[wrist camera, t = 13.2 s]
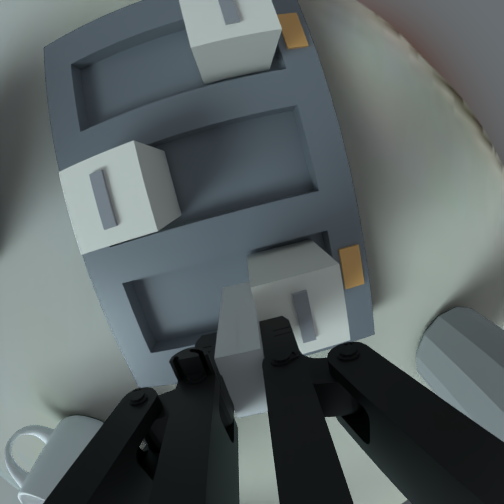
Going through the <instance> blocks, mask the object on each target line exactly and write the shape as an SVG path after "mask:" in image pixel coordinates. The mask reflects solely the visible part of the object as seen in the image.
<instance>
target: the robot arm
mask: <svg viewBox="0 0 504 504" xmlns="http://www.w3.org/2000/svg"><path fill="white" fill-rule="evenodd" d="M169 363H170V365H171V367H172V369H173V372H174V374H175V376H176V378H177V380H178V383H177V386H176V389H174V390H172V391H170V392H167V393H164V394H161V395H158V394H157V392H156V391H155V390H154V389H153V388H149V387H143V388H138V389H135V390H133V391H131V392H130V393H128V394H127V395H126V396H125V397H124V398H123V399H122V400H121V402H120V403H119V404H118V406H117V407H116V408H115V409H114V411H113V412H112V413H111V415H110V416H109V417H108V419H107V420H106V421H105V422H104V424H103V425H102V426H101V428H100V429H99V430H98V432H97V433H96V434H95V435H94V437H93V438H92V439H91V441H90V442H89V443H88V445H87V446H86V447H85V448H84V450H83V451H82V452H81V454H80V455H79V456H78V458H77V459H76V460H75V462H74V463H73V464H72V466H71V467H70V468H69V469H68V471H67V472H66V473H65V475H64V476H63V477H62V479H61V480H60V481H59V483H58V484H57V485H56V487H55V488H54V489H53V491H52V492H51V493H50V495H49V496H48V497H47V499H46V500H45V501H44V503H43V504H239V466H238V427H237V424H236V421H235V419H234V410H235V413H236V415H237V417H244V416H249V415H254V414H259V413H264V412H268V416H269V424H270V432H271V440H272V448H273V456H274V463H275V471H276V479H277V486H278V494H279V502H280V504H353V501H352V498H351V495H350V492H349V489H348V486H347V483H346V480H345V477H344V474H343V471H342V468H341V465H340V462H339V459H338V456H337V453H336V450H335V447H334V444H333V441H332V438H331V435H330V432H329V429H328V426H327V423H326V420H325V417H335V416H336V418H337V420H338V421H339V422H340V424H341V425H342V426H343V427H344V428H345V429H346V431H347V432H348V433H349V434H350V435H351V436H352V438H353V439H354V440H355V441H356V442H357V443H358V445H359V446H360V447H361V448H362V449H363V450H364V451H365V453H366V454H367V455H368V456H369V457H370V458H371V459H372V461H373V462H374V463H375V464H376V465H377V466H378V467H379V468H380V470H381V471H382V472H383V473H384V474H385V475H386V476H387V477H388V478H389V480H390V481H391V482H392V483H393V484H394V485H395V486H396V487H397V488H398V489H399V490H400V492H401V493H402V494H403V495H404V496H405V497H406V498H407V499H408V500H409V501H410V502H411V503H412V504H504V442H503V441H502V440H500V439H499V438H497V437H496V436H495V435H493V434H492V433H490V432H489V431H487V430H486V429H484V428H483V427H482V426H480V425H479V424H477V423H476V422H474V421H473V420H472V419H470V418H469V417H467V416H466V415H464V414H463V413H462V412H460V411H459V410H457V409H456V408H454V407H453V406H452V405H450V404H449V403H447V402H446V401H444V400H443V399H442V398H440V397H439V396H437V395H436V394H435V393H433V392H432V391H430V390H429V389H427V388H426V387H425V386H423V385H422V384H420V383H419V382H418V381H416V380H415V379H413V378H412V377H411V376H409V375H408V374H406V373H405V372H403V371H402V370H401V369H399V368H398V367H396V366H395V365H394V364H392V363H391V362H389V361H388V360H387V359H385V358H384V357H382V356H381V355H380V354H378V353H377V352H375V351H374V350H373V349H371V348H370V347H368V346H367V345H365V344H363V343H361V342H345V343H342V344H339V345H337V346H336V347H334V348H332V349H331V350H330V352H329V353H328V357H327V358H309V357H307V356H304V355H303V354H302V353H301V352H300V350H299V348H298V345H297V342H296V339H295V336H294V333H293V330H292V327H291V325H290V322H289V320H288V319H287V318H285V317H284V316H279V317H275V318H271V319H267V320H263V321H260V320H259V317H258V313H257V309H256V306H255V302H254V299H253V295H252V292H251V288H250V281H248V282H244V283H240V284H236V285H232V286H228V287H224V288H223V292H222V300H221V307H220V315H219V323H218V331H217V332H215V333H211V334H206V335H202V336H201V337H200V338H199V339H198V340H197V342H196V344H195V347H191V348H187V349H184V350H182V351H180V352H178V353H176V354H175V355H174V356H172V357H171V359H170V360H169ZM142 441H144V442H145V444H146V446H145V448H144V449H143V450H141V449H140V447H139V446H140V444H141V443H142Z"/></svg>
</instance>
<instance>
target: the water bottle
mask: <svg viewBox="0 0 504 504" xmlns="http://www.w3.org/2000/svg"><path fill="white" fill-rule="evenodd" d="M416 362H417V372H418V373H419V374H420V375H421V377H422V378H423V379H424V380H425V381H426V383H427V384H428V385H429V386H430V387H431V389H432V390H433V391H434V392H435V393H436V395H437V396H439V397H440V398H442V399H443V400H444V401H446V402H447V403H449V404H450V405H452V406H453V407H454V408H456V409H457V410H459V411H460V412H462V413H463V414H464V415H466V416H467V417H469V418H470V419H472V420H473V421H474V422H476V423H477V424H479V425H480V426H482V427H483V428H484V429H486V430H487V431H489V432H490V433H492V434H493V435H495V436H496V437H497V438H499V439H500V440H502V441H503V442H504V330H502V329H501V328H500V327H498V326H497V325H495V324H494V323H492V322H491V321H489V320H488V319H486V318H485V317H483V316H482V315H480V314H479V313H477V312H476V311H474V310H473V309H471V308H463V307H455V308H453V309H451V310H449V311H447V312H446V313H444V314H442V315H440V316H438V317H437V318H436V319H435V321H434V322H433V323H432V324H431V325H430V326H429V328H428V329H427V330H426V331H425V332H424V335H423V337H422V340H421V342H420V345H419V347H418V349H417V353H416Z"/></svg>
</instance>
